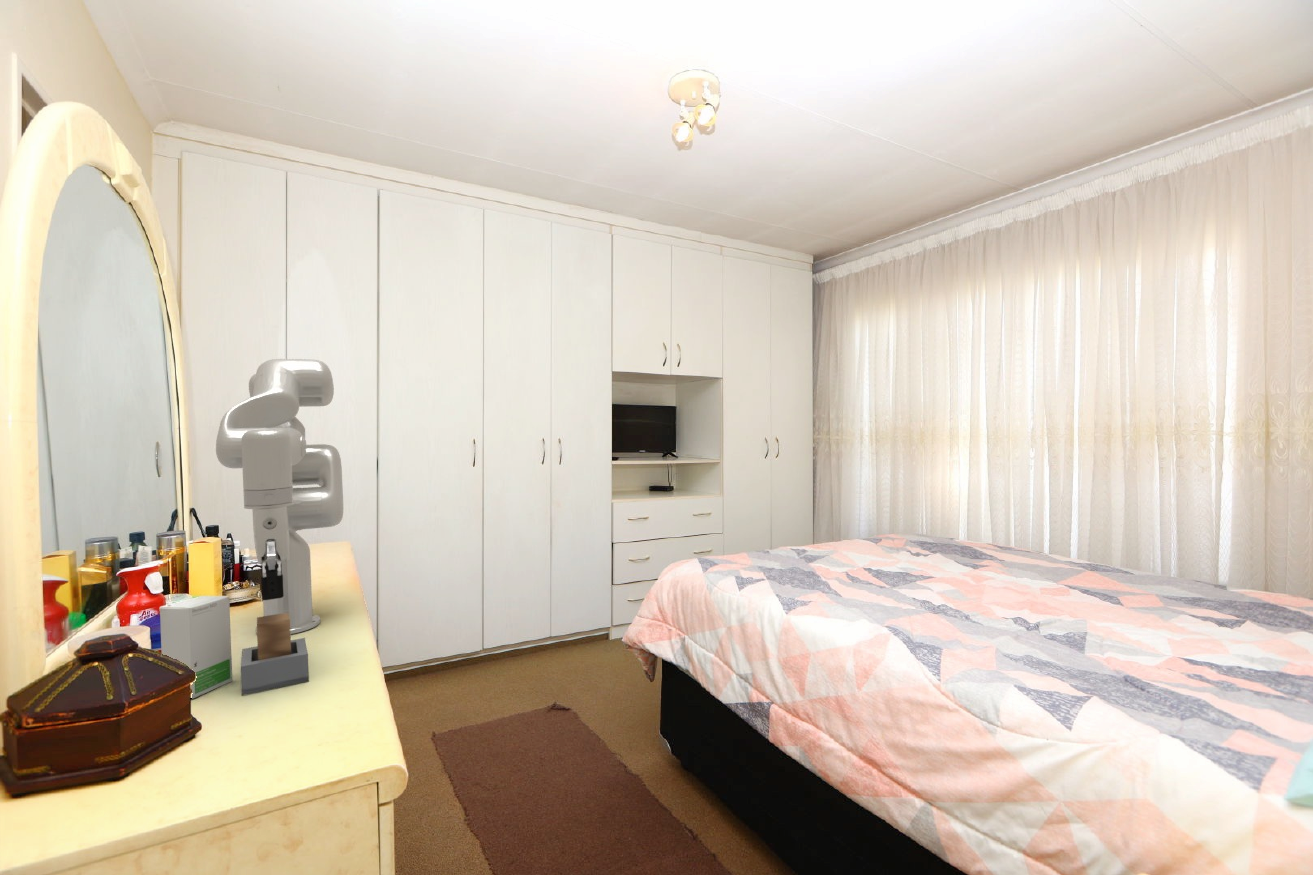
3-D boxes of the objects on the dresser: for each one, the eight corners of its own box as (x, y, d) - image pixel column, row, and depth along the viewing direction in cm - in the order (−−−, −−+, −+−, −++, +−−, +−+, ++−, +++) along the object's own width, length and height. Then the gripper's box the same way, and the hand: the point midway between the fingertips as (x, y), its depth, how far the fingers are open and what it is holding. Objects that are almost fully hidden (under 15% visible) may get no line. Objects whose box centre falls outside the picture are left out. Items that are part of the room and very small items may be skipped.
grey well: (243, 675, 114) (242, 648, 113) (305, 663, 119) (304, 637, 119) (241, 695, 105) (240, 666, 105) (308, 681, 110) (307, 653, 110)
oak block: (290, 665, 115) (288, 612, 115) (291, 674, 111) (289, 619, 111) (259, 671, 113) (257, 617, 113) (258, 681, 109) (256, 624, 108)
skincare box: (191, 700, 104) (187, 608, 103) (159, 698, 105) (155, 607, 105) (235, 680, 112) (231, 594, 111) (204, 677, 113) (201, 593, 113)
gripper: (295, 501, 106) (298, 600, 107) (291, 491, 121) (294, 578, 121) (242, 505, 102) (246, 608, 103) (245, 494, 116) (248, 584, 117)
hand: (272, 591), depth 112 cm, fingers open, 9 cm apart
